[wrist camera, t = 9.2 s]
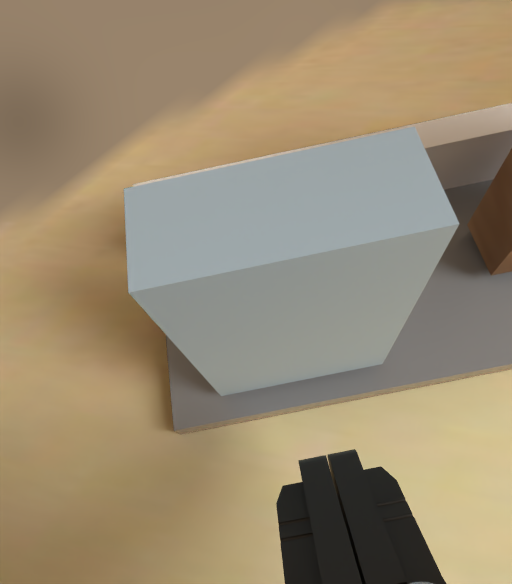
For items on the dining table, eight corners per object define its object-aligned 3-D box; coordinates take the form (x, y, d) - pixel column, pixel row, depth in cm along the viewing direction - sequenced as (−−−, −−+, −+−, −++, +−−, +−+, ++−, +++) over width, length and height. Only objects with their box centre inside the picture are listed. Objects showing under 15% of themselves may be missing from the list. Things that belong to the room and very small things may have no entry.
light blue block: (212, 335, 17) (123, 188, 9) (363, 304, 17) (414, 126, 9) (221, 396, 16) (127, 292, 8) (382, 364, 16) (459, 224, 8)
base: (163, 237, 21) (132, 184, 17) (595, 146, 20) (657, 71, 17) (180, 434, 17) (146, 417, 13) (722, 327, 16) (839, 280, 13)
